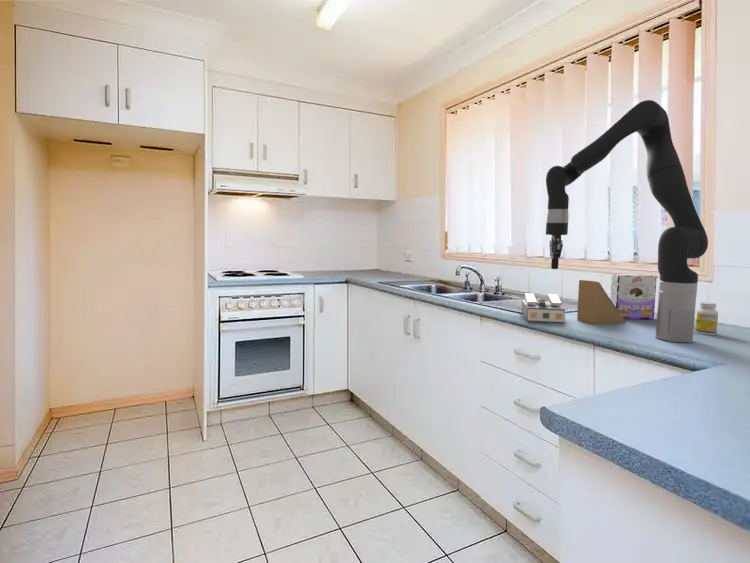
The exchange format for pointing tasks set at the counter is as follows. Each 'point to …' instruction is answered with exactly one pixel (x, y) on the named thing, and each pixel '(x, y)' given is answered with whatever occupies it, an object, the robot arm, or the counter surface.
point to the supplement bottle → (707, 319)
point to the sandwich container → (596, 304)
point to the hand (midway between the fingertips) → (554, 268)
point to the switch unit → (543, 312)
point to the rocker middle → (542, 299)
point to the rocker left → (530, 299)
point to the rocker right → (554, 300)
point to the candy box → (634, 295)
